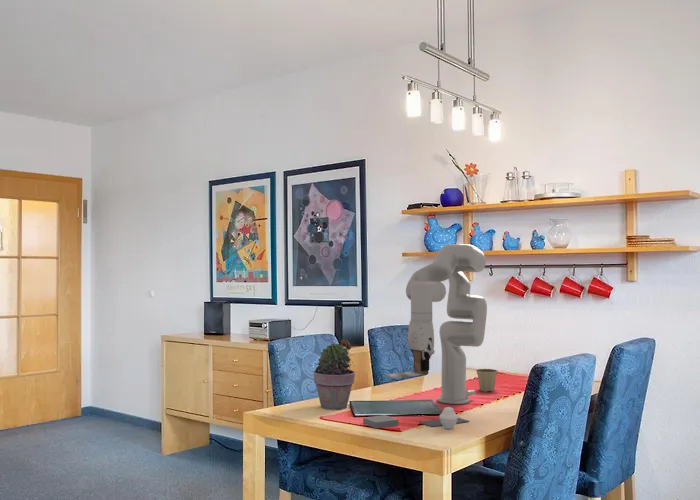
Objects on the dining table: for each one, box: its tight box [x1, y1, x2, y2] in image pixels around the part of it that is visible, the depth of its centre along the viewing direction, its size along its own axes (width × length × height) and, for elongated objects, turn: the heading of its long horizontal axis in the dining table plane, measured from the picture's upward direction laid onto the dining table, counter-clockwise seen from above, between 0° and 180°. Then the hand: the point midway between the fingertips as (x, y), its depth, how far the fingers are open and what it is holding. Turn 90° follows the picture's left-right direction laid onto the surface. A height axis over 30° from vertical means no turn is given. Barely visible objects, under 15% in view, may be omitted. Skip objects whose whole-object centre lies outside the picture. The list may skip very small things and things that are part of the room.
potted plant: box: [313, 339, 356, 411], centre depth 258 cm, size 18×20×25 cm
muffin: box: [438, 406, 459, 430], centre depth 228 cm, size 6×6×7 cm
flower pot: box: [475, 368, 499, 392], centre depth 297 cm, size 9×9×9 cm
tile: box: [362, 414, 400, 429], centre depth 232 cm, size 2×8×9 cm
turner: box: [384, 350, 429, 379], centre depth 238 cm, size 16×4×8 cm, turn 120°
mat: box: [418, 417, 470, 428], centre depth 236 cm, size 16×7×1 cm, turn 121°
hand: (421, 369), depth 241 cm, fingers closed on turner, 3 cm apart
